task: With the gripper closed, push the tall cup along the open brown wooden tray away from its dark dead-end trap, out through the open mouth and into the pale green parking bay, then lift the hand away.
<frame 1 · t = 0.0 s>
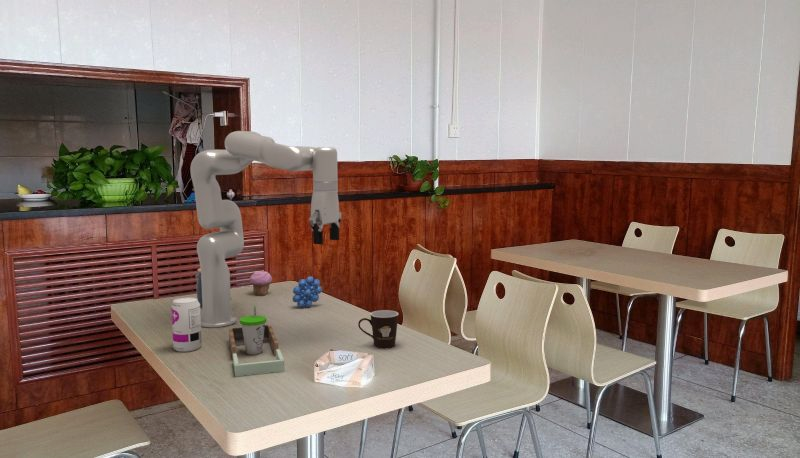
hand: (326, 241, 196), 31 cm above the table, tool pointing down, fingers open, 9 cm apart
bay: (258, 367, 174), on the table
canister: (214, 305, 245), on the table
brown wooden tray: (252, 348, 191), on the table
grapes: (306, 307, 241), on the table
supplement can: (187, 348, 191), on the table
coffee mug: (380, 345, 193), on the table
cupcake: (261, 294, 262), on the table
cup: (254, 353, 186), on the table
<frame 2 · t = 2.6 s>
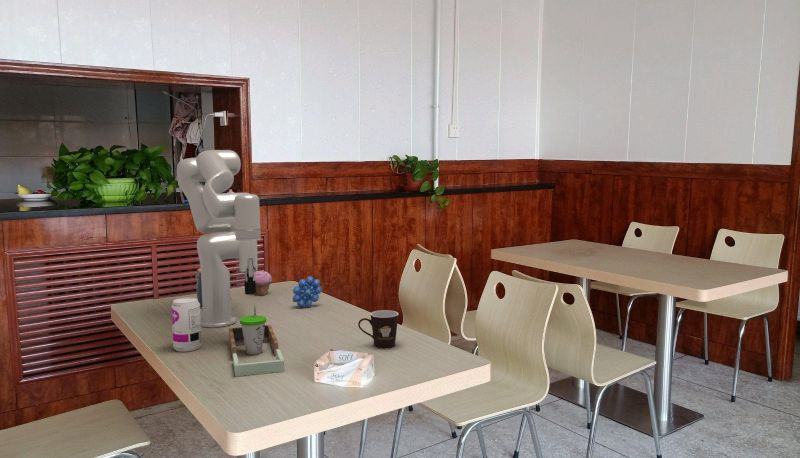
hand: (250, 293, 193), 16 cm above the table, tool pointing down, fingers closed
nothing on the table moved.
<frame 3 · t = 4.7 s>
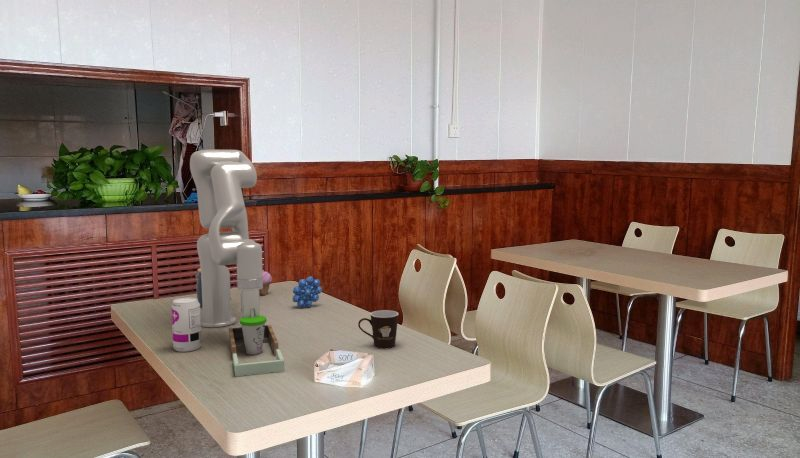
hand: (252, 341, 193), 1 cm above the table, tool pointing down, fingers closed
cup: (254, 353, 186), on the table, touching gripper
everything else where it was.
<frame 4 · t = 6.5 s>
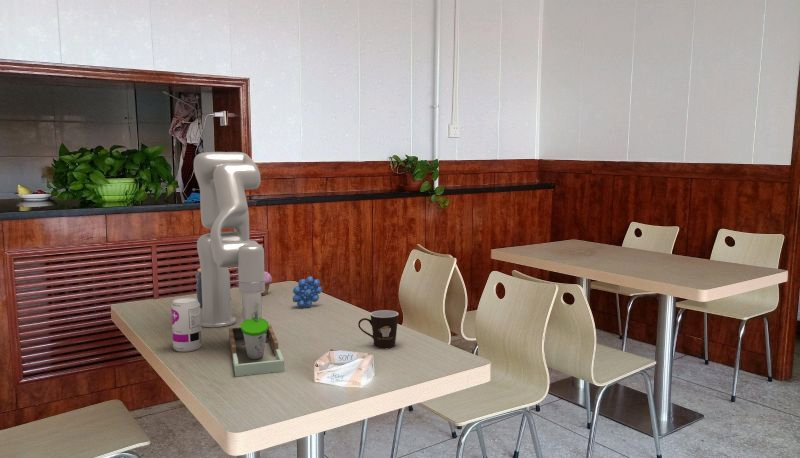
hand: (254, 346, 186), 2 cm above the table, tool pointing down, fingers closed
cup: (255, 355, 182), point 1 cm above the table, touching gripper
everything else where it was.
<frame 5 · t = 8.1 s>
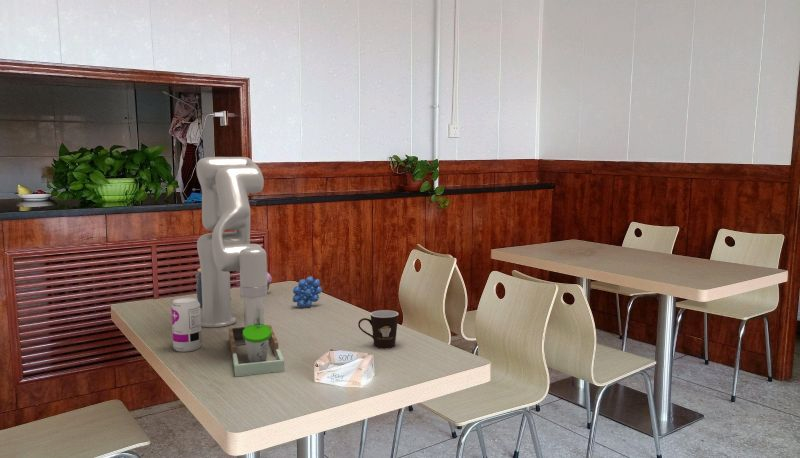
hand: (256, 353, 180), 2 cm above the table, tool pointing down, fingers closed
cup: (257, 362, 176), point 1 cm above the table, touching gripper
everything else where it was.
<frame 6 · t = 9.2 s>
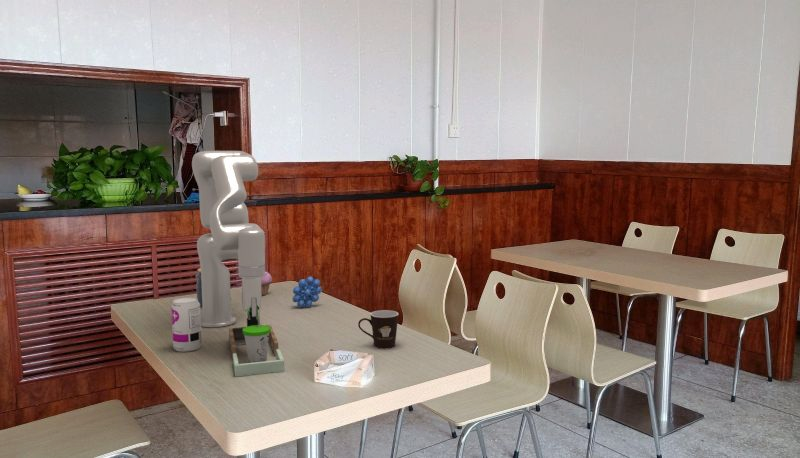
hand: (252, 331, 184), 7 cm above the table, tool pointing down, fingers closed
cup: (257, 365, 176), on the table
everything else where it was.
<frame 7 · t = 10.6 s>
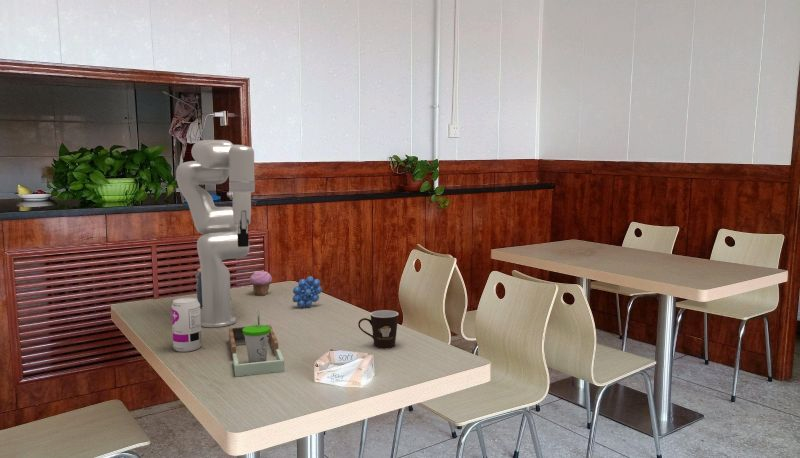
hand: (243, 246, 193), 30 cm above the table, tool pointing down, fingers closed
nothing on the table moved.
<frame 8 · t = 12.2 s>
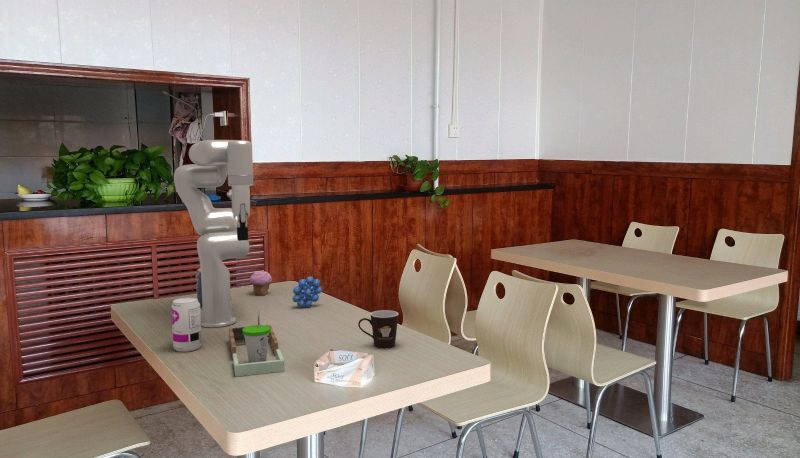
hand: (242, 239, 195), 32 cm above the table, tool pointing down, fingers closed
nothing on the table moved.
at the end: cup 2.5 cm from the bay (horizontally); cup tilted 0°; cup moved 10.9 cm from its start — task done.
